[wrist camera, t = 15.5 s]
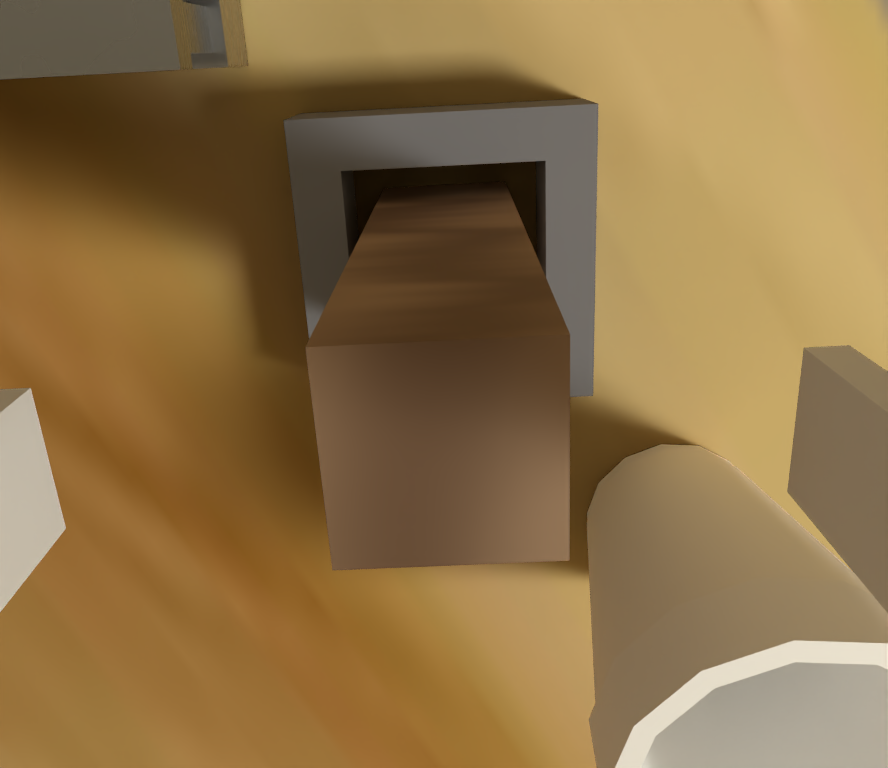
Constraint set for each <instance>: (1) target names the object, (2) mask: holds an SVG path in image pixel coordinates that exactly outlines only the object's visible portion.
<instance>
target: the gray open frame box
mask: <svg viewBox="0 0 888 768" xmlns="http://www.w3.org/2000/svg"><path fill="white" fill-rule="evenodd" d="M236 66H248V60H247V53H246V45H245V37H244V30H243V22H242V14H241V6H240V0H0V79H18V78H37V77H55V76H74V75H92V74H111V73H129V72H147V71H166V70H184V69H200V68H218V67H236Z"/></svg>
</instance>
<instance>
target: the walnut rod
mask: <svg viewBox="0 0 888 768" xmlns="http://www.w3.org/2000/svg"><path fill="white" fill-rule="evenodd" d="M305 349H306V357H307V365H308V373H309V382H310V390H311V398H312V406H313V414H314V423H315V431H316V439H317V447H318V455H319V463H320V472H321V480H322V488H323V496H324V504H325V512H326V521H327V529H328V537H329V545H330V553H331V562H332V570H352V569H377V568H401V567H425V566H450V565H474V564H498V563H523V562H547V561H569V551H570V333H569V330H568V328H567V326H566V323H565V321H564V319H563V316H562V314H561V312H560V309H559V307H558V305H557V302H556V300H555V298H554V295H553V293H552V291H551V288H550V286H549V284H548V281H547V279H546V277H545V274H544V272H543V270H542V267H541V265H540V263H539V260H538V258H537V256H536V253H535V251H534V248H533V246H532V244H531V241H530V239H529V237H528V234H527V232H526V230H525V227H524V225H523V223H522V220H521V218H520V216H519V213H518V211H517V209H516V206H515V204H514V202H513V199H512V197H511V195H510V192H509V190H508V188H507V185H506V183H505V182H487V183H468V184H450V185H431V186H412V187H393V188H384V189H383V191H382V193H381V195H380V197H379V199H378V201H377V203H376V205H375V207H374V209H373V211H372V213H371V215H370V217H369V219H368V222H367V224H366V226H365V228H364V230H363V232H362V234H361V236H360V238H359V240H358V242H357V244H356V246H355V248H354V250H353V252H352V254H351V256H350V258H349V260H348V262H347V264H346V266H345V268H344V270H343V272H342V274H341V276H340V278H339V280H338V282H337V284H336V286H335V288H334V290H333V292H332V294H331V296H330V298H329V300H328V302H327V304H326V306H325V308H324V310H323V312H322V315H321V317H320V319H319V321H318V323H317V325H316V327H315V329H314V331H313V333H312V335H311V337H310V339H309V341H308V343H307V345H306V347H305Z"/></svg>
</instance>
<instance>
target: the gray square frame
mask: <svg viewBox="0 0 888 768" xmlns="http://www.w3.org/2000/svg"><path fill="white" fill-rule="evenodd" d="M284 129H285V137H286V146H287V154H288V163H289V172H290V180H291V189H292V197H293V206H294V214H295V223H296V231H297V240H298V249H299V257H300V266H301V274H302V283H303V291H304V300H305V308H306V317H307V325H308V334H309V339H310V337H311V335H312V333H313V331H314V329H315V327H316V325H317V323H318V321H319V319H320V317H321V315H322V312H323V310H324V308H325V306H326V304H327V302H328V300H329V298H330V296H331V294H332V292H333V290H334V288H335V286H336V284H337V282H338V280H339V278H340V276H341V274H342V272H343V270H344V268H345V266H346V264H347V262H348V260H349V258H350V256H351V254H352V252H353V250H354V248H355V246H356V244H357V242H358V240H359V233H358V221H357V210H356V199H355V188H354V177H353V170H373V169H392V168H412V167H432V166H451V165H471V164H491V163H510V162H530V161H536V234H537V258H538V260H539V263H540V265H541V267H542V270H543V272H544V274H545V277H546V279H547V281H548V284H549V286H550V288H551V291H552V293H553V295H554V298H555V300H556V302H557V305H558V307H559V309H560V312H561V314H562V316H563V319H564V321H565V323H566V326H567V328H568V330H569V333H570V397H578V396H593V369H594V313H595V257H596V201H597V145H598V104H597V103H594V102H591V101H589V100H586V99H564V100H545V101H526V102H507V103H488V104H469V105H450V106H431V107H412V108H393V109H374V110H355V111H336V112H317V113H301V114H298V115H296V116H293V117H291V118H288V119H286V120H284Z"/></svg>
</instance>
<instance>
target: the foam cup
mask: <svg viewBox="0 0 888 768" xmlns="http://www.w3.org/2000/svg"><path fill="white" fill-rule="evenodd" d="M587 520H588V521H587V541H588V562H589V583H590V603H591V624H592V644H593V665H594V685H595V706H594V708H593V710H592V713H591V715H590V718H589V724H590V730H591V736H592V742H593V748H594V754H595V760H596V766H597V768H888V613H887V612H886V611H885V609H884V608H883V607H882V606H881V605H880V603H879V602H878V601H877V600H876V599H875V597H874V596H873V595H872V594H871V593H870V591H869V590H868V589H867V588H866V586H865V585H864V584H863V583H862V582H861V580H860V579H859V578H858V577H857V576H856V574H855V573H854V572H852V571H851V570H850V569H849V568H848V567H847V566H846V565H845V564H844V563H843V562H841V561H840V560H839V559H838V558H837V557H836V556H835V555H834V554H833V553H831V552H830V551H829V550H828V549H827V548H826V547H825V546H824V545H823V544H822V543H820V542H819V541H818V540H817V539H816V538H815V537H814V536H813V535H812V534H810V533H809V532H808V531H807V530H806V529H805V528H804V527H803V526H802V525H801V524H799V523H798V522H797V521H796V520H795V519H794V518H793V517H792V516H791V515H789V514H788V513H787V512H786V511H785V510H784V509H783V508H782V507H781V506H779V505H778V504H777V503H776V502H775V501H774V500H773V499H772V498H771V497H770V496H768V495H767V494H766V493H765V492H764V491H763V490H762V489H761V488H760V487H758V486H757V485H756V484H755V483H754V482H753V481H752V480H751V479H750V478H749V477H747V476H746V475H745V474H744V473H743V472H742V471H741V470H740V469H739V468H737V467H735V466H733V465H732V464H731V462H730V461H728V460H726V459H724V458H722V457H720V456H718V455H716V454H715V453H713V452H711V451H709V450H707V449H705V448H703V447H701V446H699V445H669V444H660V445H657V446H655V447H652V448H649V449H647V450H644V451H641V452H639V453H636V454H634V455H631V456H628V457H626V458H624V459H623V460H622V461H621V462H620V463H619V464H618V465H617V466H616V467H615V468H614V469H613V470H611V471H610V472H609V473H608V474H607V475H606V476H605V477H604V478H603V479H602V480H601V481H600V482H599V483H598V485H597V488H596V491H595V493H594V496H593V499H592V501H591V504H590V507H589V509H588V512H587Z"/></svg>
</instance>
